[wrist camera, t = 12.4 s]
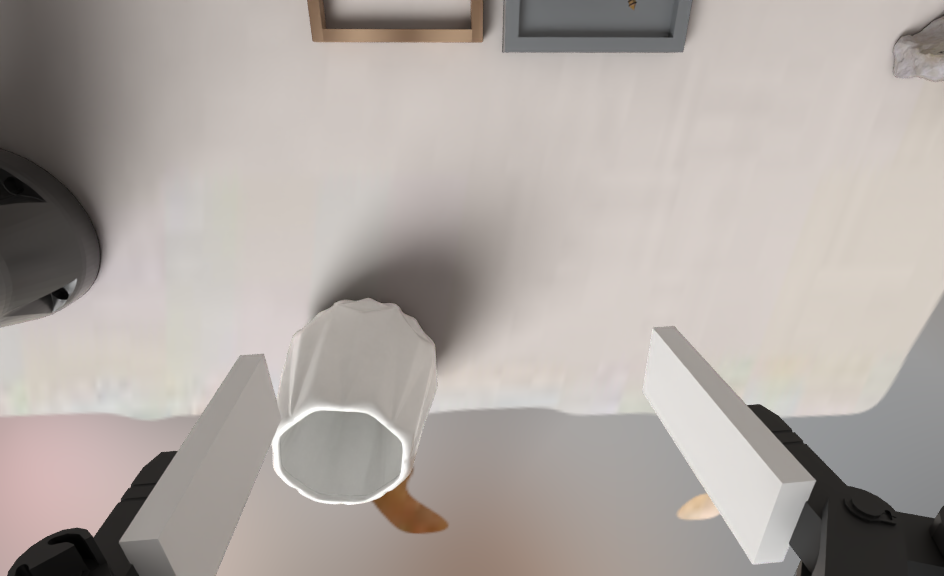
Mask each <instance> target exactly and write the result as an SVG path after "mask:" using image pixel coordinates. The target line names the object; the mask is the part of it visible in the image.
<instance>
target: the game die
mask: <svg viewBox="0 0 944 576" xmlns="http://www.w3.org/2000/svg"><path fill="white" fill-rule="evenodd" d="M628 3H629V7H631V8H632V9H633V10H634V9H635V6H636V3H637V2H636V0H628Z"/></svg>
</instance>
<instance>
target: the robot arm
mask: <svg viewBox="0 0 944 576" xmlns="http://www.w3.org/2000/svg"><path fill="white" fill-rule="evenodd" d="M99 264H100V249H99V243H98V239H97V235H96V232H95V230H94V227H93V225H92V223H91V221H90V219H89V217H88V215H87V214H86V212H85V210H84V209H83V207H82V206H81V205H80V203H79V202H78V201H77V199H76V198H75V197H74V196H73V195H72V194H71V193H70V192H69V191H68V189H67V188H66V187H64V186H63V185H62V184H61V183H60V182H59V181H58V180H57V179H56V178H54V177H53V176H52V175H50V174H49V173H48V172H46V171H45V170H43V169H42V168H40V167H39V166H37V165H36V164H34V163H32V162H30V161H29V160H27V159H25V158H23V157H21V156H18V155H16V154H14V153H11V152H9V151H6V150H3V149H0V328H1V327H5V326H9V325H14V324H18V323H22V322H27V321H31V320H35V319H40V318H43V317H46V316H49V315H51V314H54V313H56V312H58V311H60V310H62V309H63V308H65V307H66V306H68V305H69V304H71V303H73V302H74V301H76V300H77V299H79V298H80V297H81V296H83V295H84V294H85V293H86V292H87V291H88V290H89V288H90V287H91V286H92V284H93V282H94V281H95V279H96V276H97V273H98V270H99ZM642 392H643V393H644V395H645V397H646V398H647V400H648V401H649V403H650V404H651V406H652V408H653V409H654V411H655V412H656V414H657V415H658V417H659V418H660V420H661V422H662V423H663V425H664V426H665V428H666V429H667V431H668V433H669V434H670V436H671V437H672V439H673V440H674V442H675V444H676V445H677V447H678V448H679V450H680V451H681V453H682V454H683V456H684V458H685V459H686V460H687V462H688V464H689V465H690V467H691V468H692V470H693V472H694V473H695V475H696V476H697V478H698V480H699V481H700V483H701V484H702V486H703V487H704V489H705V490H706V492H707V494H708V495H709V497H710V498H711V500H712V501H713V503H714V505H715V506H716V508H717V509H718V511H719V512H720V514H721V516H722V517H723V519H724V520H725V522H726V523H727V525H728V527H729V528H730V530H731V531H732V533H733V534H734V536H735V537H736V539H737V540H738V542H739V544H740V545H741V547H742V548H743V550H744V552H745V553H746V555H747V556H748V558H749V559H750V561H751V563H752V564H762V563H773V562H783V560H784V558H785V555H786V553H787V550H788V548H789V545H790V546H791V547H792V548H793V550H794V551H795V552H796V554H797V555H798V556H799V558H800V559H801V561H800V563H799V566H798V568H797V570H796V572H795V575H794V576H944V506H943V507H942V508H941V510H940V511H939V513H938V515H937V516H936V518H929V517H923V516H918V515H913V514H907V513H901V512H896V511H895V510H894V509H893V508H892V507H891V506H890V505H889V504H888V503H886V502H885V501H883V500H882V499H881V498H879V497H878V496H876V495H873V494H871V493H869V492H867V491H865V490H862V489H858V488H855V487H851V486H847V485H846V484H845V483H844V482H842V480H841V479H840V478H839V477H838V476H837V475H836V474H835V473H834V472H833V471H832V470H831V469H830V468H829V467H828V466H827V465H826V464H825V463H824V462H823V461H822V460H821V459H820V458H819V457H818V456H817V455H816V454H815V453H814V452H813V451H812V450H811V449H810V448H809V447H808V446H807V444H804V443H803V440H802V439H801V438H800V437H799V436H798V435H797V434H796V433H795V432H794V433H793V432H792V429H791V428H790V427H789V426H788V425H787V424H786V423H785V422H784V421H783V420H782V419H781V418H780V417H779V416H778V415H776V414H775V413H773V412H771V411H770V410H768V409H767V408H765V407H763V406H762V405H760V404H757V405H746V404H745V403H744V402H743V400H742V399H741V398H740V397H739V396H738V395H737V394H736V393H735V392H734V391H733V390H732V389H731V387H730V386H729V385H728V384H727V383H726V382H725V381H724V380H723V379H722V378H721V377H720V375H719V374H718V373H717V372H716V371H715V370H714V369H713V368H712V367H711V366H710V365H709V363H708V362H707V361H706V360H705V359H704V358H703V357H702V356H701V355H700V354H699V353H698V351H697V350H696V349H695V348H694V347H693V346H692V345H691V344H690V343H689V342H688V341H687V339H686V338H685V337H684V336H683V335H682V334H681V333H680V332H679V331H678V330H677V329H676V327H675V326H669V327H654V328H653V329H652V335H651V341H650V347H649V354H648V360H647V366H646V372H645V378H644V384H643V390H642ZM280 421H281V415H280V412H279V408H278V404H277V400H276V397H275V393H274V389H273V386H272V382H271V378H270V374H269V371H268V367H267V363H266V360H265V356H264V354H254V355H240V356H239V358H238V359H237V361H236V362H235V364H234V366H233V367H232V369H231V370H230V372H229V373H228V375H227V376H226V378H225V379H224V381H223V382H222V384H221V386H220V387H219V389H218V390H217V392H216V393H215V395H214V396H213V398H212V399H211V401H210V402H209V404H208V406H207V407H206V409H205V410H204V412H203V413H202V415H201V416H200V418H199V419H198V421H197V422H196V424H195V425H194V427H193V429H192V430H191V432H190V433H189V435H188V436H187V438H186V439H185V441H184V442H183V444H182V445H181V447H180V449H179V450H178V451H170V452H161V453H160V454H159V455H158V456H156V457H155V458H154V459H153V460H152V461H151V462H149V463H148V464H147V465H146V466H145V467H143V469H142V470H141V471H140V473H139V474H138V476H137V477H136V478H135V480H134V481H133V483H132V484H131V488H128V490H127V491H126V492H125V494H124V495H123V497H122V498H121V502H120V503H118V504H117V505H116V506H115V508H114V509H113V511H112V512H111V514H110V515H109V516H108V518H107V519H106V521H105V522H104V523H103V525H102V526H101V528H100V529H99V530H98V532H97V533H96V535H95V536H94V537H92V535H91V534H90V533H89V532H88V530H86V529H81V528H72V529H66V530H62V531H60V532H57V533H54V534H52V535H50V536H47V537H45V538H44V539H42V540H41V541H39V542H37V543H36V544H34V545H33V546H31V547H30V548H29V549H28V550H27V551H26V552H25V553H23V554H22V555H21V556H20V557H19V558H18V559H17V560H16V561H15V563H14V564H13V566H12V567H11V569H10V570H9V571H8V575H7V576H216V574H217V571H218V569H219V566H220V564H221V562H222V559H223V557H224V554H225V552H226V549H227V547H228V545H229V543H230V540H231V538H232V535H233V533H234V531H235V528H236V526H237V524H238V521H239V519H240V516H241V514H242V512H243V509H244V507H245V504H246V502H247V500H248V497H249V495H250V493H251V490H252V488H253V485H254V483H255V480H256V478H257V476H258V473H259V471H260V469H261V466H262V464H263V462H264V459H265V456H266V454H267V452H268V450H269V447H270V445H271V442H272V440H273V438H274V435H275V433H276V431H277V428H278V426H279V423H280Z"/></svg>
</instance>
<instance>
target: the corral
mask: <svg viewBox="0 0 944 576" xmlns="http://www.w3.org/2000/svg"><path fill="white" fill-rule="evenodd" d="M307 2H308V10H309V17H310V25H311V33H312V40H313V41H314V42H483V0H471V29H326V21H325V13H324V4H323V0H307Z"/></svg>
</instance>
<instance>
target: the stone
mask: <svg viewBox="0 0 944 576" xmlns="http://www.w3.org/2000/svg"><path fill="white" fill-rule="evenodd" d="M893 54H894V56H895V62H894V68H893V70H894V76H895V77H899V78H911V77H919V78H924V79H926V80H929V81H934V82H937V81H944V16H942V17H941V18H939V19H936V20H934V21H932V22H931V23H930V24H929V25H928V26H927V27H926V28H924V29H923V30H922V31H921V32H919V33H917V34H915V35H913V36H911V35H906V36H903V37H901V38H900V39H899V40H898V41H897V43H896V44H895V46H894V50H893Z"/></svg>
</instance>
